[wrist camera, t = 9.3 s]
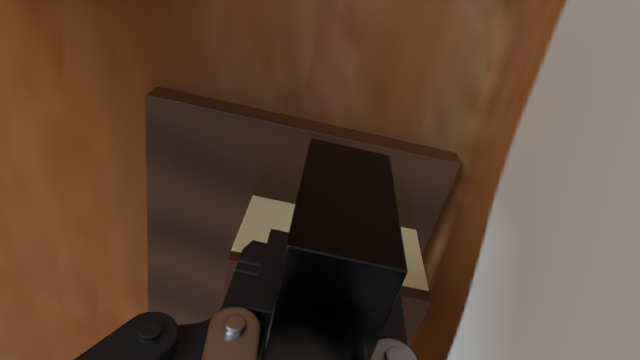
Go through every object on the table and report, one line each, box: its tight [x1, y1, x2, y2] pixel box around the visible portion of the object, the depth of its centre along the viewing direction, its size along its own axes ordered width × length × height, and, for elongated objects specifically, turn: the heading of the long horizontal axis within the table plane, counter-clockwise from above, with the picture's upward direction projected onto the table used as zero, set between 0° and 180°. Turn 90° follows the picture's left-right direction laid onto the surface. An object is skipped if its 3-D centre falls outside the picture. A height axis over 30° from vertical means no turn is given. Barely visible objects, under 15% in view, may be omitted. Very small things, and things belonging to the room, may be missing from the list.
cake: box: [401, 227, 431, 347], centre depth 26 cm, size 12×6×6 cm, turn 168°
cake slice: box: [222, 195, 295, 304], centre depth 26 cm, size 12×3×6 cm, turn 168°
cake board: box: [146, 87, 461, 325], centre depth 29 cm, size 20×18×2 cm
